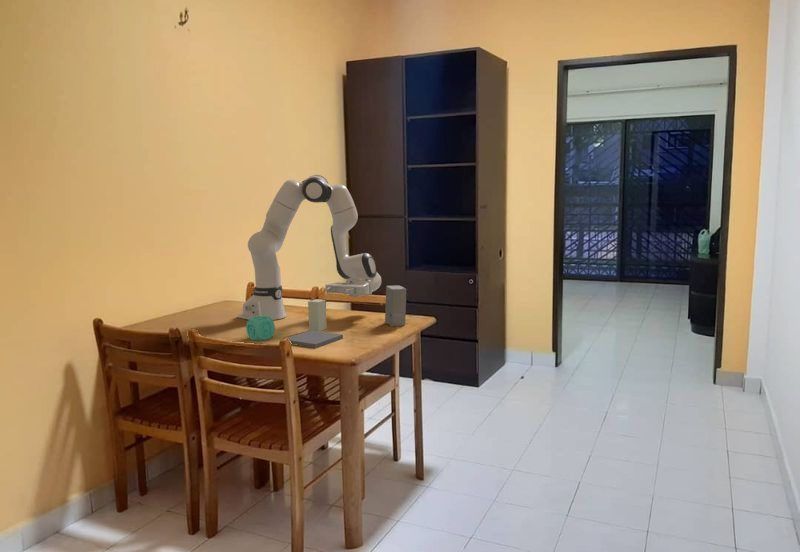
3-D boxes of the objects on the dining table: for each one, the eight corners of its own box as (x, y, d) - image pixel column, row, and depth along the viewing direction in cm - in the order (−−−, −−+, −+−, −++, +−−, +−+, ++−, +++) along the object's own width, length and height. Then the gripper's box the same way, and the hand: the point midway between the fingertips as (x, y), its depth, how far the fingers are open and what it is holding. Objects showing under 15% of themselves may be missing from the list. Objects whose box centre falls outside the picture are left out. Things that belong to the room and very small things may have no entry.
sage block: (309, 330, 248) (307, 301, 246) (317, 327, 252) (315, 299, 250) (318, 331, 245) (317, 302, 243) (326, 329, 249) (325, 300, 248)
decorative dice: (264, 334, 242) (263, 314, 241) (275, 337, 237) (274, 317, 235) (246, 338, 237) (245, 318, 236) (257, 341, 231) (256, 321, 230)
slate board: (282, 343, 228) (282, 339, 228) (310, 333, 242) (310, 330, 241) (316, 348, 220) (315, 344, 220) (343, 338, 233) (342, 334, 233)
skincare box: (384, 322, 258) (383, 285, 256) (400, 321, 261) (399, 284, 259) (391, 327, 251) (390, 288, 248) (407, 325, 253) (406, 287, 251)
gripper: (336, 278, 273) (316, 283, 262) (374, 280, 262) (355, 285, 251) (337, 292, 274) (317, 297, 263) (374, 294, 263) (355, 300, 252)
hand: (336, 291), depth 257 cm, fingers open, 8 cm apart
